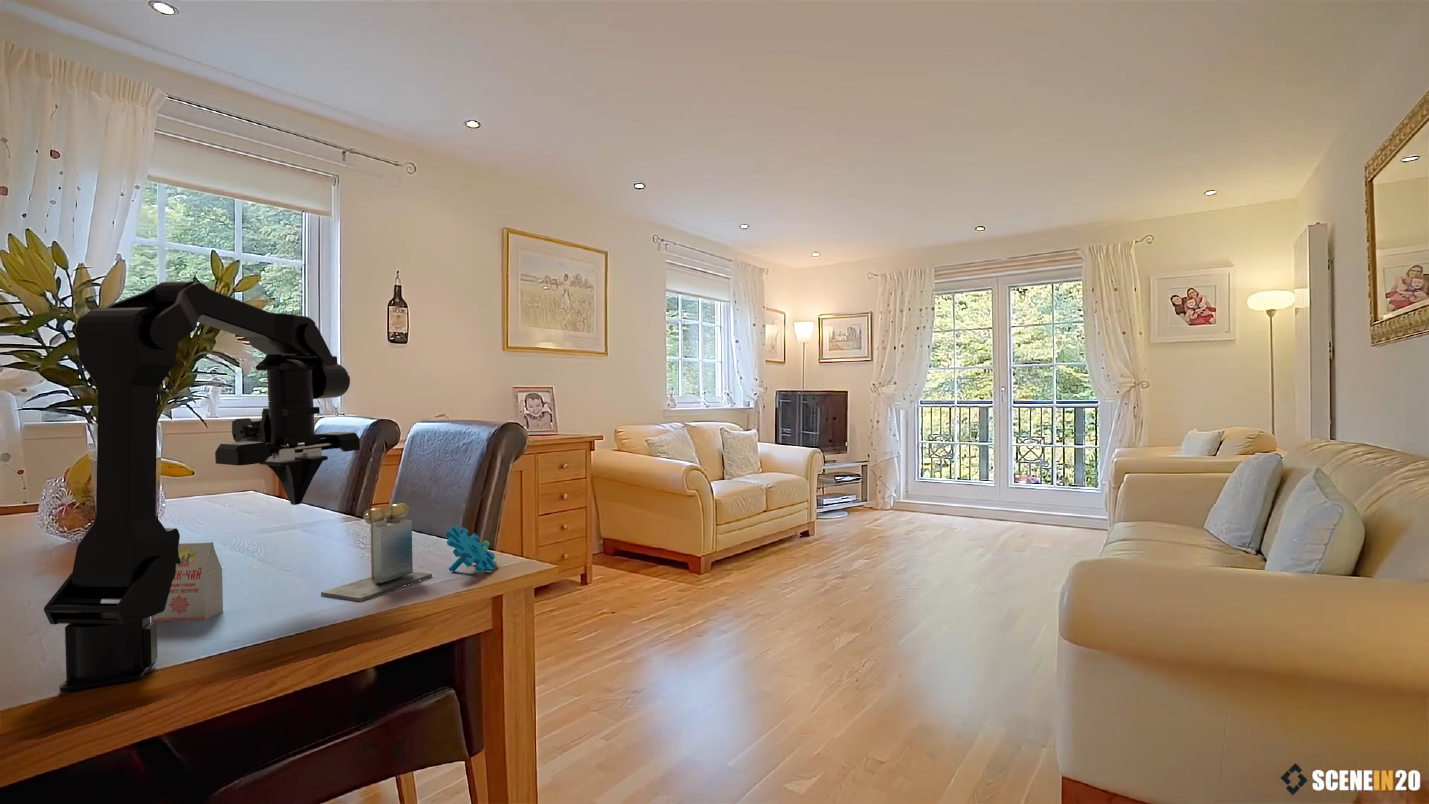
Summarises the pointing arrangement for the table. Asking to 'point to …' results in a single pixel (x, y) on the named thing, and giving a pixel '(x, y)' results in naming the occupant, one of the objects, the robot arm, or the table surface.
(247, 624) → the table surface
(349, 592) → the hinge base
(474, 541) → the teal branched piece
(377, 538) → the brass-capped grey pillar
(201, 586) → the tea bag
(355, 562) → the table surface
